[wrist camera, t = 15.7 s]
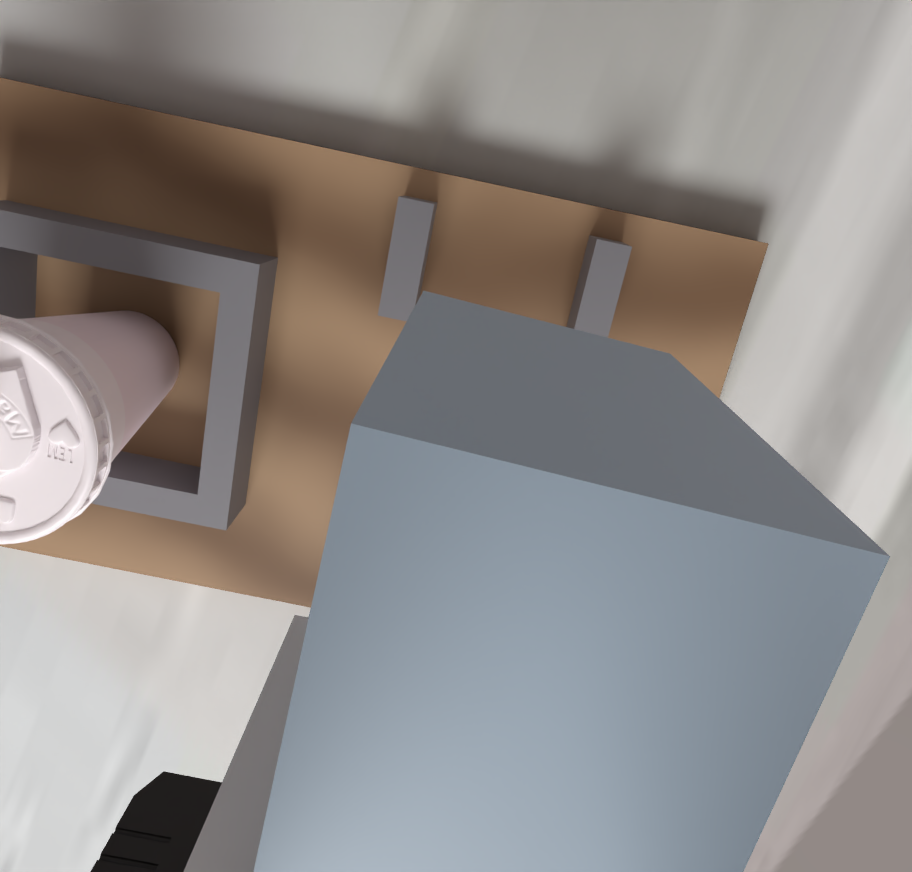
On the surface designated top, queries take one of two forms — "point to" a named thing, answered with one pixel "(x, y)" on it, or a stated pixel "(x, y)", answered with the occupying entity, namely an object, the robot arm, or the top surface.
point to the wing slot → (411, 251)
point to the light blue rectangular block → (556, 616)
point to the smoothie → (72, 409)
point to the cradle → (234, 358)
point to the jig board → (317, 303)
